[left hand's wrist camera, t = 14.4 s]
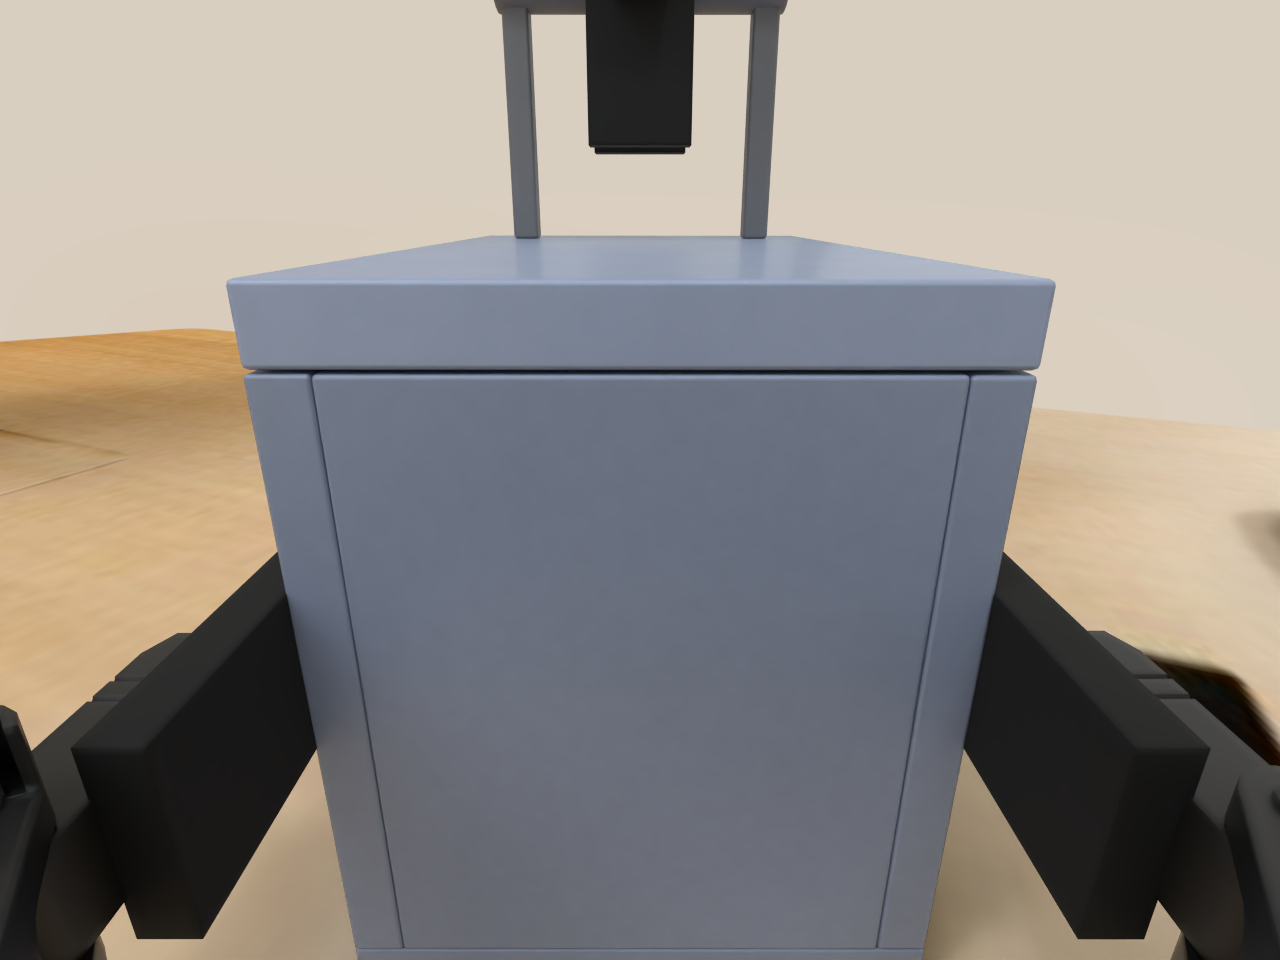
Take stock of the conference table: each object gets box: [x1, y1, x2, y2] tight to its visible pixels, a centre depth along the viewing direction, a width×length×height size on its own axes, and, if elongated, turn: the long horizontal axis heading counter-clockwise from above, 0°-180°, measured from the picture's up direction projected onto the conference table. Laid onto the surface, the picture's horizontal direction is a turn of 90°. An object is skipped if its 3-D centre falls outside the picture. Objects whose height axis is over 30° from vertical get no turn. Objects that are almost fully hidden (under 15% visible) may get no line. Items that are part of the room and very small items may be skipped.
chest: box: [244, 370, 1037, 960], centre depth 18 cm, size 15×10×11 cm, turn 0°
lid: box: [226, 0, 1055, 370], centre depth 15 cm, size 16×10×9 cm, turn 0°
